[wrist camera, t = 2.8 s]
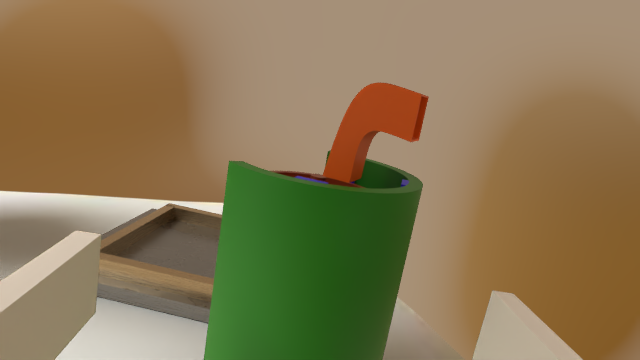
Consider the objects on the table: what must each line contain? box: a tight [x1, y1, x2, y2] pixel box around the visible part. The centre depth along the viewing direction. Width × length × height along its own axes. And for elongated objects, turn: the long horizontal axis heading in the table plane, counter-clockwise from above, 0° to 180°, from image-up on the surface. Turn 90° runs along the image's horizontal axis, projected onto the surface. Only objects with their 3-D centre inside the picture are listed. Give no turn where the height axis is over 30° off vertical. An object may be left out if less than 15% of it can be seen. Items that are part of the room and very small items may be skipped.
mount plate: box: [97, 203, 222, 323], centre depth 41 cm, size 20×18×3 cm
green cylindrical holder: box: [204, 83, 428, 360], centre depth 22 cm, size 10×9×20 cm
